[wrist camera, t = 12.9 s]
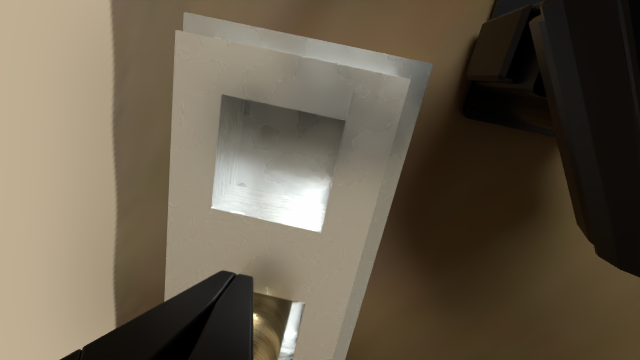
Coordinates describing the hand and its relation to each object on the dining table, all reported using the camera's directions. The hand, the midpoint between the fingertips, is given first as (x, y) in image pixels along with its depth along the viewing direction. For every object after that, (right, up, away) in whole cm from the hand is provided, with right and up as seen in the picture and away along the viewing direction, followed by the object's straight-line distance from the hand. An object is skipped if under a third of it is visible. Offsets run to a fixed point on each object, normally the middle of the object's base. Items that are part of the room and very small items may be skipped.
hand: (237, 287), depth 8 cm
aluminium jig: (-1, 0, +13) cm, 12 cm away
